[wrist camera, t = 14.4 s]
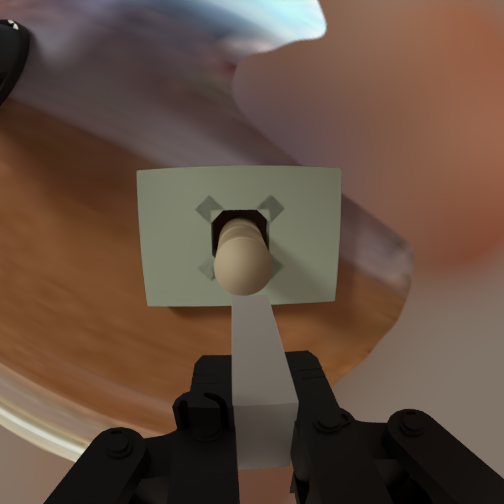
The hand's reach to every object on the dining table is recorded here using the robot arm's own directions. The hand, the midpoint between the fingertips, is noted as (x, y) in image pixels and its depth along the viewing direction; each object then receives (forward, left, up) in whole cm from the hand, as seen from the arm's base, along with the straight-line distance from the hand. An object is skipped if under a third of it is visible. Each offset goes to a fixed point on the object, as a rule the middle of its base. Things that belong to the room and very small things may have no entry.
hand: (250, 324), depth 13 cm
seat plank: (0, 0, -20) cm, 20 cm away
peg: (0, 0, -20) cm, 20 cm away
